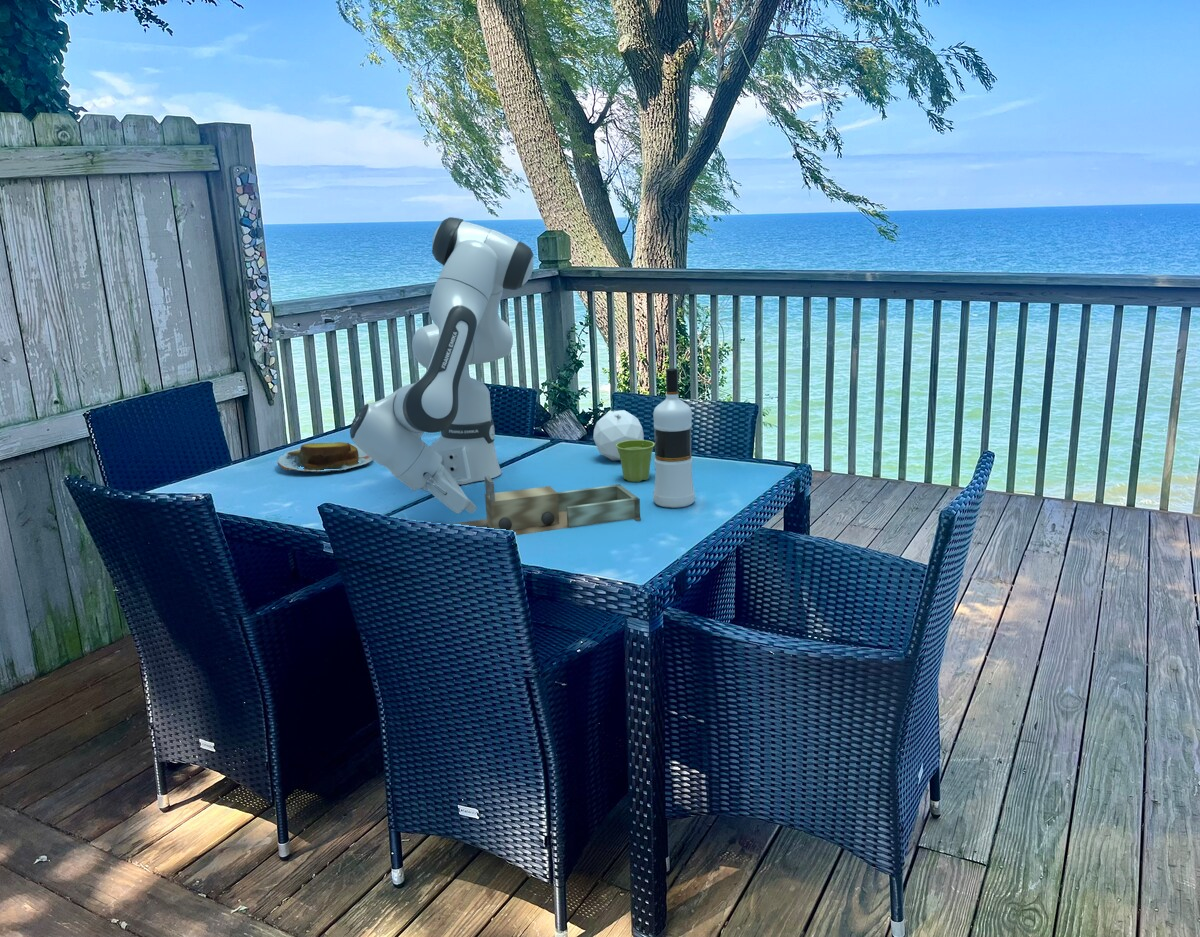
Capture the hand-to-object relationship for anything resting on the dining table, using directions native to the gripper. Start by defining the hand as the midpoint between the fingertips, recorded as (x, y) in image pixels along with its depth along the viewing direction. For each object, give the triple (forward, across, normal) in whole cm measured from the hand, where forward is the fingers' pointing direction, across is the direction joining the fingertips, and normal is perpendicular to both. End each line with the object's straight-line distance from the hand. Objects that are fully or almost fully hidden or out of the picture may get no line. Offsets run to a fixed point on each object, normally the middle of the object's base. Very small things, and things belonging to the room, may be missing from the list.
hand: (473, 509), depth 189 cm
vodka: (+36, +2, -28) cm, 45 cm away
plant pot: (+35, +24, -28) cm, 51 cm away
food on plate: (-14, +76, +22) cm, 80 cm away
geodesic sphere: (+37, +45, -30) cm, 65 cm away
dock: (+14, 0, -7) cm, 16 cm away
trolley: (+10, 0, -4) cm, 11 cm away
